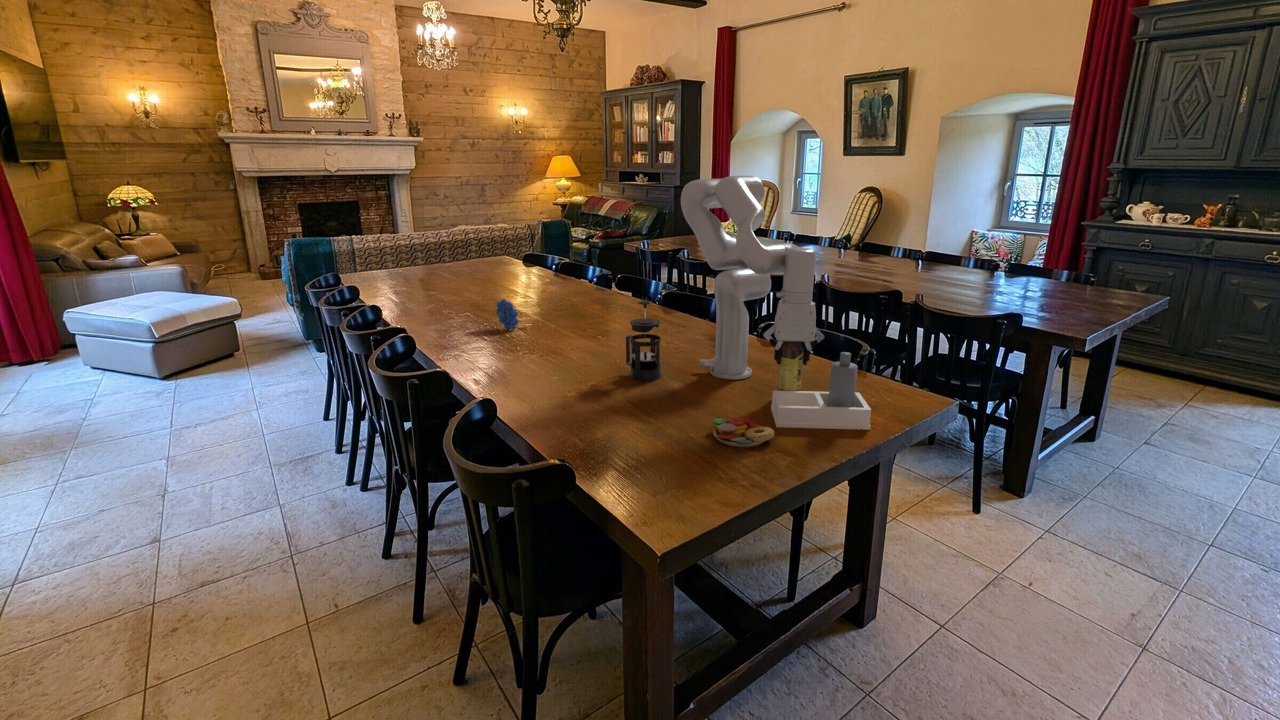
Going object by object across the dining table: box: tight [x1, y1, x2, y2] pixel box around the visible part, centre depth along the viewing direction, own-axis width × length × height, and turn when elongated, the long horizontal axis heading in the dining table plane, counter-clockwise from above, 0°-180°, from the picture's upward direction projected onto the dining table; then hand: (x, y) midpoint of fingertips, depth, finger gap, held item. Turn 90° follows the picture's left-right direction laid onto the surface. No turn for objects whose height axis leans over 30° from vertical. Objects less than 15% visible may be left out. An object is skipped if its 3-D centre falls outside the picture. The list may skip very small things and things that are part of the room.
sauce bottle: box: [776, 341, 804, 391], centre depth 161 cm, size 6×6×20 cm
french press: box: [625, 300, 662, 382], centre depth 179 cm, size 12×9×23 cm
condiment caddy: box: [770, 351, 872, 431], centre depth 148 cm, size 22×12×17 cm, turn 85°
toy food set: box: [712, 417, 775, 448], centre depth 141 cm, size 13×13×3 cm
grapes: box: [495, 298, 520, 331], centre depth 233 cm, size 12×7×12 cm, turn 53°
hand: (791, 362), depth 161 cm, fingers closed on sauce bottle, 6 cm apart
